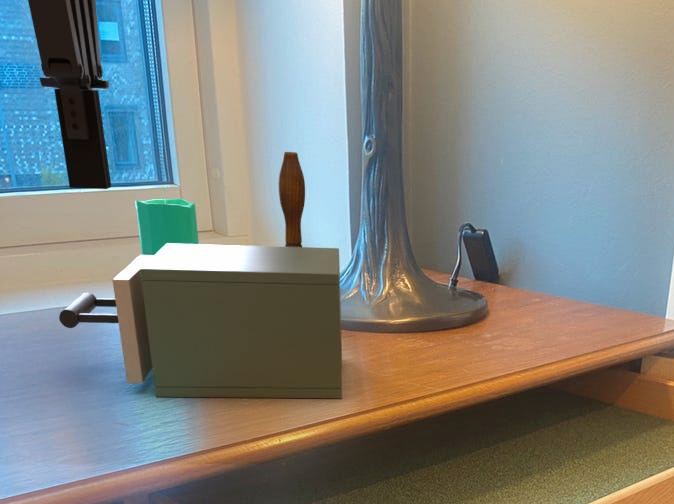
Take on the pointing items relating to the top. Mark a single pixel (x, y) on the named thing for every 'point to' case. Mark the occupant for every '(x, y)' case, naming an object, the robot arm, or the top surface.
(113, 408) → the top surface
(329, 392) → the cabinet
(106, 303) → the drawer
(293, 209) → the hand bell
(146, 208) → the candle
